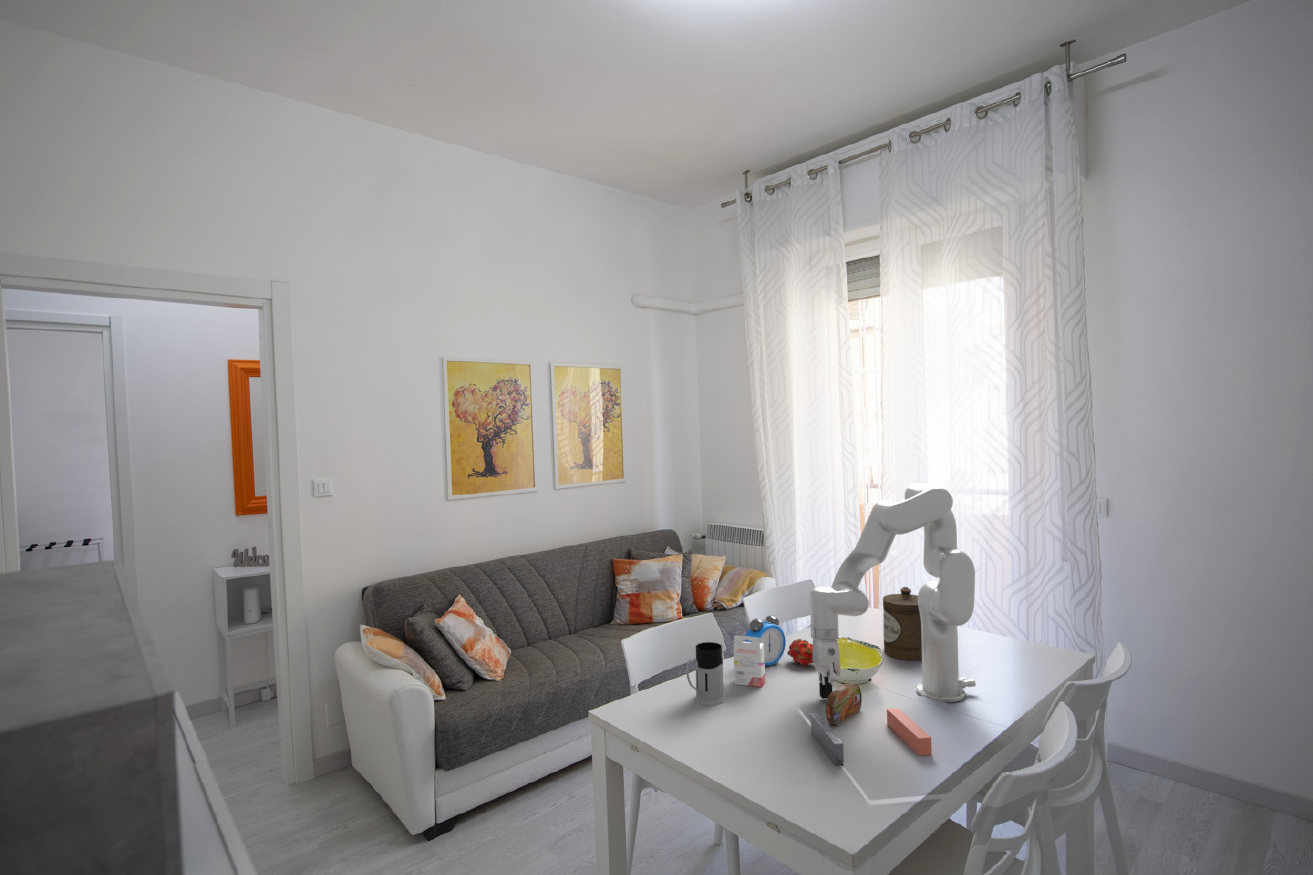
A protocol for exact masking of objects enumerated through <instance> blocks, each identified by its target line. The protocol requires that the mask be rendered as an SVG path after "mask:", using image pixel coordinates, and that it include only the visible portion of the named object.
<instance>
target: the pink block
mask: <svg viewBox="0 0 1313 875" xmlns="http://www.w3.org/2000/svg"><path fill="white" fill-rule="evenodd" d="M886 724H887V726H888V727H889V728H890V729H891V730H892V731H893V732H894V733H895V734H896V735H897V736H899V737H900V738H901V740H902V741H903V742H905V744H906V745H908V747H910V748H911V749H912V750H913V751H914V753H916V754H917V755H918V756H919V757H920V756H921V757H922V756H933V755H932V750H933V749H932V736H930V735H929V734H928V733H927V732H926V731H924V730H923V729H922V728H921V726H919V725H918V724H917V723H916V722H915V721H913V719H911V718H910V717H909V716H907V714H905V712H904V711H902V710H901V709H900V708H898V707H896V708H895V707H894V708H886Z"/></svg>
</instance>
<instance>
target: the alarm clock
mask: <svg viewBox="0 0 1313 875" xmlns="http://www.w3.org/2000/svg"><path fill="white" fill-rule="evenodd" d="M748 627H749V628H748V630H747V631H746V634H745V636H747V637H756V638H760V643H763V644H764V659H765V667H767V666H772V665H775V664H778V663H779V661H780V660H781V658H782V657H783V655H784V652H785V650H786V642H787V641H786V635H785V633H784V631H783V629H782V628H781V627H780V619H779V618H778V617H776V616H775V615H768V616H767V615H766V617H765V618H763V619H760V618H754V619H752V620H751V621H750V622H749V624H748ZM743 642H751V641H748V640H747V639H746V640H743Z"/></svg>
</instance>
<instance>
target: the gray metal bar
mask: <svg viewBox="0 0 1313 875" xmlns="http://www.w3.org/2000/svg"><path fill="white" fill-rule="evenodd" d="M810 734H811V735H812V737H813V738H814V739H815V741H816V742H817V744H818V745H819V746H820V748H821V749H822V750H823V751H824V753H825V754H826V755H827V757H828V758H829V760H830V761H831V762H832V764H833V765H834V766H835V767H840V766H844V764H843V763H845V762H844V753H845V752H844V742H843V741H842V740H841V739H840V737H839V736H838V735H837V734H836V733H835V731H834V730H833V729H832V727H831V726H830V725H829V724H828V723H827V722H826V720H825V719H824V718H823V716H821V714H820V713H819V712H813V713H812V712H811V713H810Z"/></svg>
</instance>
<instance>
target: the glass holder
mask: <svg viewBox="0 0 1313 875" xmlns="http://www.w3.org/2000/svg"><path fill="white" fill-rule="evenodd" d="M692 660H694V664H695V685H694V684H693V683H692V681H691V678H690V674H689V673H690V672H689V665H690V663H691V661H692ZM685 674H686V679H687V682H688V683H689V686H690V687H691V688H692V689H694V691H695V692H696V693H695V696H694V701H695V702H696V703H698V704H700V705H703V706H704V705H705V706H717V705H721V704H723V703H724V702H725V701H726V696H725V694H724V693H725V692H724V691H725V690H724V689H725V687H724V657H723V646H722V644H720V643H717V642H713V641H709V642H708V641H705V642H700V643H697V644H696V645H695V657H690V658H689V659H688V660H687V661H686V665H685Z"/></svg>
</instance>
